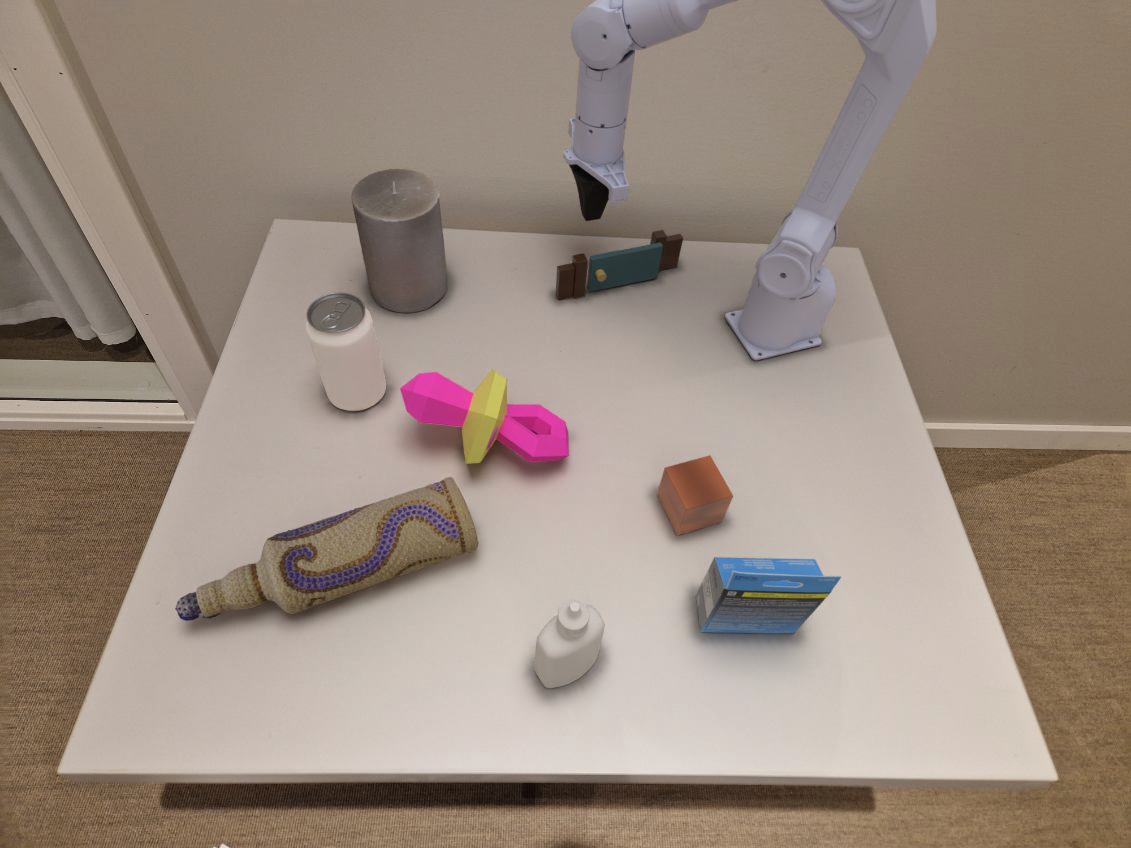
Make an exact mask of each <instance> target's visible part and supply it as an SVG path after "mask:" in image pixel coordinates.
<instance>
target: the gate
mask: <svg viewBox="0 0 1131 848" xmlns="http://www.w3.org/2000/svg"><path fill="white" fill-rule="evenodd" d="M683 242H684V237H683V235H682V234H681V233H676V234H671V235H667V234H666V232H665V230H664V229H659V230H653V231H652V232H651V237H650V243H649V245H650V244H655V243H661V244H662V245H663V249H662V254H661V259H660V264H659V270H658V273H660V272H661V271H666V270H671V269H676V268H677V269H678V265H679V260H680V255H681V251H682V247H683ZM571 257H572V258H571V262H570V263H565V264H559V265H557V266H556V278H555V279H556V280H555V297H556V299H557V301H562V300H568V299H579V298H584V297H586V289H587V278H588V268H589V259H588V258H587V256H586V254H585V252H581V253H575V254H572V256H571Z"/></svg>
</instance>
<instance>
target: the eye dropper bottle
mask: <svg viewBox="0 0 1131 848" xmlns="http://www.w3.org/2000/svg"><path fill="white" fill-rule="evenodd" d="M605 627H606V624H605V620H604V618H603V617H602V615H601V613H600V612H599V610H597V608H596V607H594V606H593V605H590V604H587V605H586V604H584V602H582V601H580V600H576V599H570V600H566V601H564V602H563V603H562V604H561V605H560V606H559V607H558V610H557V614H556V615H555V616H553V617H552V618H551V619H550V620H549V621H548V622H547V623H546V624H545V625H544V626H543V627H542V628H541V630H540V632H539V633H538V635H537V637H536V641H535V653H534V672H535V674H536V676H537V677H538V680H540V682H541V684H542V685H543V686H544V687H545V688H547V689H555V688H556V689H557V688H560V687H565V686H567V685H569V684H571V683H573V682H576V681H577V680H579V679H580V678H581V677H583V676H585V674H587V673H588V671H589V670H590V669H591V668H592V667H593V665H595V663H596V661H597V660H598V657H599V654H600V650H601V645H602V641H603V638H604V633H605Z"/></svg>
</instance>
